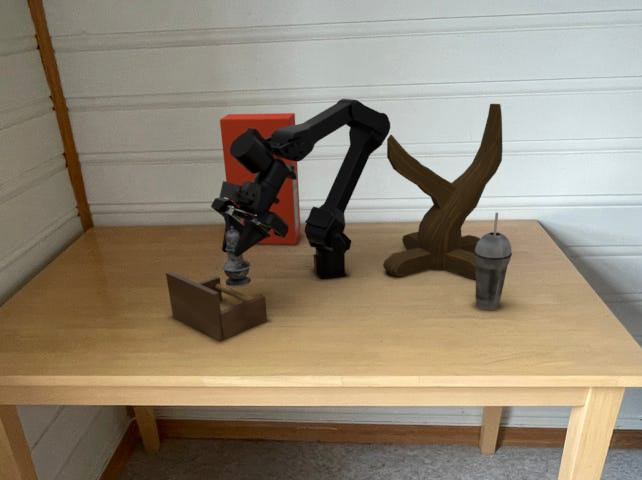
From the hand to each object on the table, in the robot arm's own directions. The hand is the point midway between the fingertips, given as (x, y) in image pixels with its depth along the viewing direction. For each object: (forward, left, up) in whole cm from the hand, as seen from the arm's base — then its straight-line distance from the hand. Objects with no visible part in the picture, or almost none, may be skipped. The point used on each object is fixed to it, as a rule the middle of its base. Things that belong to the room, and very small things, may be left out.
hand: (229, 253), depth 128 cm
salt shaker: (-1, -1, -7) cm, 7 cm away
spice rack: (+4, +2, -13) cm, 14 cm away
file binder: (-15, -43, -13) cm, 48 cm away
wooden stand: (-51, -12, -13) cm, 54 cm away
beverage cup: (-51, +14, -13) cm, 54 cm away
